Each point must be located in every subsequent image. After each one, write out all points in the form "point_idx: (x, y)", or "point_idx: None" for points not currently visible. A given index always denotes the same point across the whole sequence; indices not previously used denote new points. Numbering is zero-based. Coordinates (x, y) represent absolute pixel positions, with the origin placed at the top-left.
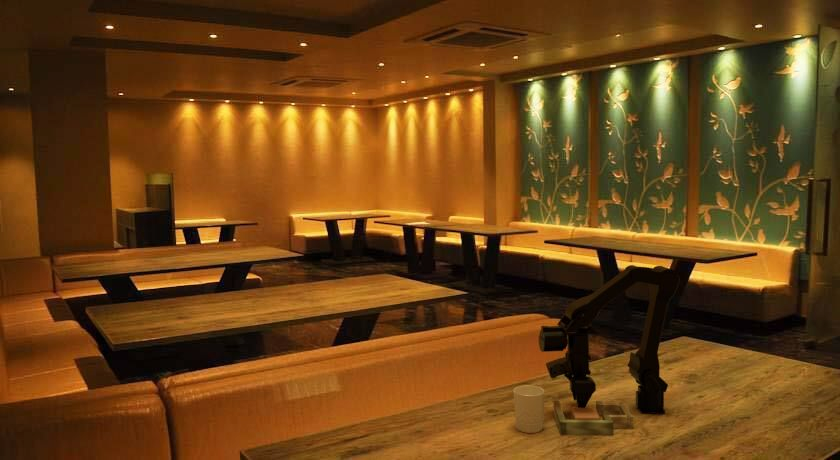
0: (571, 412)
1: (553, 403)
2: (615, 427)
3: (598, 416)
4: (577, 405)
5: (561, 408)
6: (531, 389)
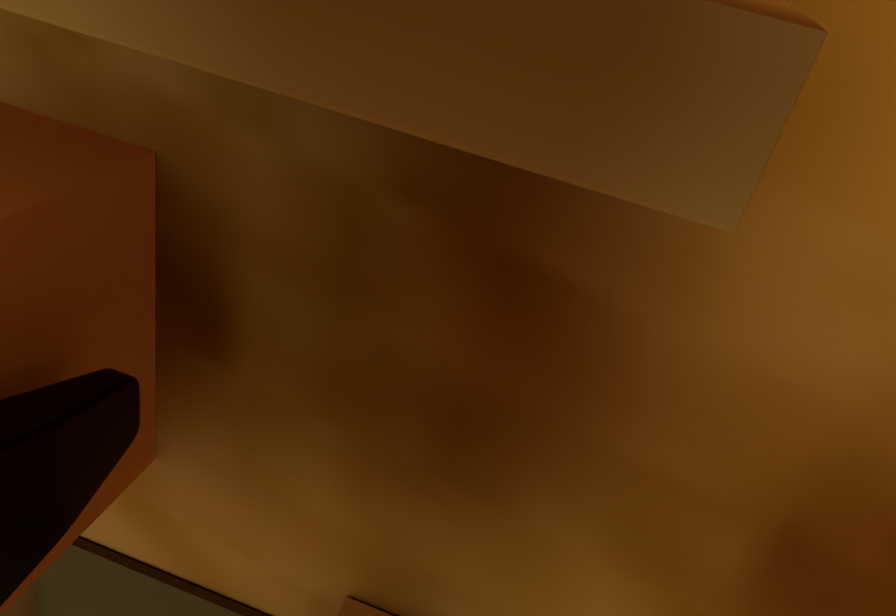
0: (5, 206)
1: (748, 3)
2: None
3: None
4: (10, 434)
5: (60, 23)
6: None
